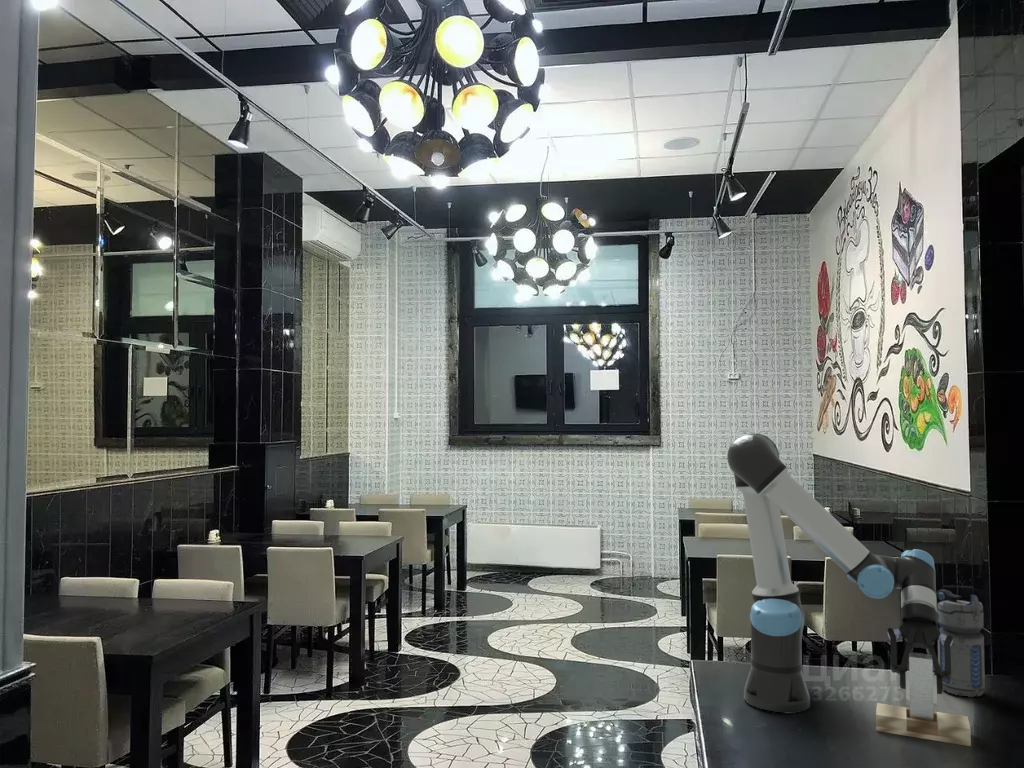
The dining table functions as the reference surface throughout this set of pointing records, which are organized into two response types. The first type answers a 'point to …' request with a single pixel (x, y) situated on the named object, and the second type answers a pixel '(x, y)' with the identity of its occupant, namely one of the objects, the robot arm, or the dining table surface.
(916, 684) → the white square post
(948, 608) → the beverage bottle
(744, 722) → the dining table surface
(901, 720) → the foot beam
